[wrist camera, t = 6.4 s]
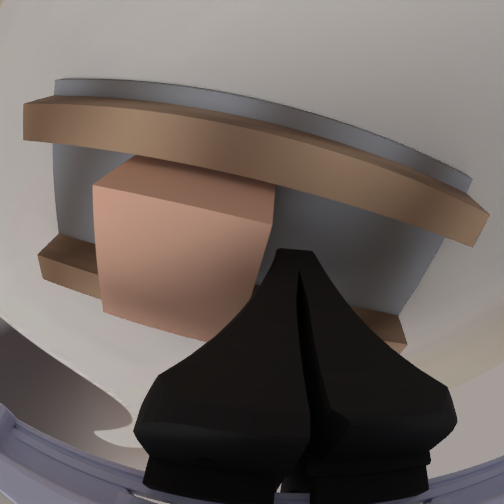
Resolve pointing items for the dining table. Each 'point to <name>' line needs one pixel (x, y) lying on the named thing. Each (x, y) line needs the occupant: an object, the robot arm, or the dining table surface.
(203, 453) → the robot arm
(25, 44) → the dining table surface
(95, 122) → the walnut chute
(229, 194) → the block
